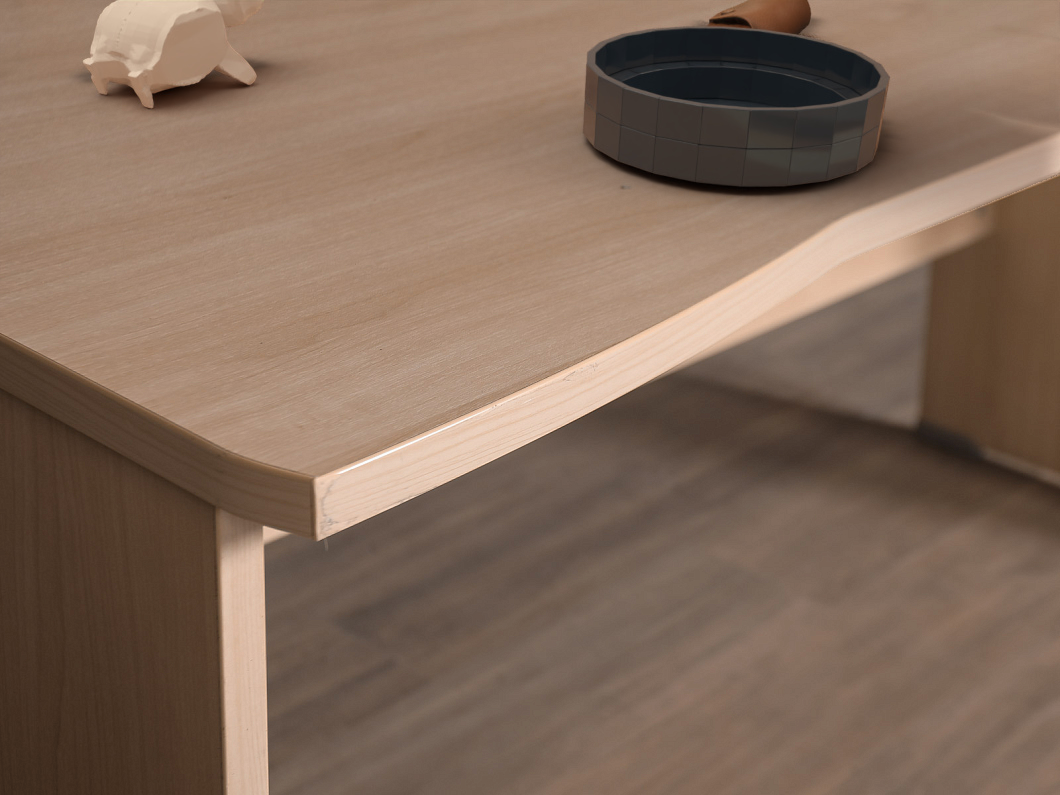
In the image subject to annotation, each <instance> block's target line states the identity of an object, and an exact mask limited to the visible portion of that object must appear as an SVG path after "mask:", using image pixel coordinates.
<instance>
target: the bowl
mask: <svg viewBox="0 0 1060 795" xmlns="http://www.w3.org/2000/svg"><path fill="white" fill-rule="evenodd" d="M585 66H586V67H585V82H584V83H585V86H584V105H583V122H582V134H583V136H584V137H585V138H586V140H588V142H589V143H590V144H591V145H592V147H593V148H594V149H595V150H597V151H599V152H601V153H603V154H604V155H606V156H608V157H609V158H611V159H613V160H615V161H616V162H619V163H622V164H625V165H627V166H631V167H634V168H637V169H639V170H642V171H646V172H648V173H653V174H655V175H659V176H665V177H668V178H671V179H672V178H673V179H676V180H681V181H685V182H691V183H698V184H704V185H712V186H722V187H737V188H738V187H740V188H770V187H789V186H796V185H797V186H798V185H804V184H814V183H821V182H827V181H830V180H834V179H837V178H841V177H845V176H847V175H850V174H853V173H857V172H859V171H860V170H861V169H862V168H864V167H865V166H867V165H868V164H870V163H872V162H873V161H874V159H875V156H876V153H877V150H878V147H879V142H880V136H881V131H882V125H883V119H884V112H885V109H886V101H887V96H888V91H889V85H890V81H891V80H890V79H891V76H890V74H889V73H888V72H887V70H886V69H885V67H884V66H883V64H881V63H880V62H878V61H876V60H875V59H873V58H871V57H870V56H869V55H866V54H864V53H863V52H861V51H858V50H855V49H852V48H849V47H847V46H844V45H841V44H838V43H836V42H832V41H827V40H823V39H819V38H815V37H810V36H806V35H802V34H798V35H796V34H789V33H783V32H776V31H769V30H762V29H749V28H736V27H718V26H707V25H704V26H703V25H699V26H698V25H696V26H694V25H693V26H692V25H689V26H687V25H686V26H684V25H683V26H671V27H658V28H648V29H641V30H637V31H631V32H626V33H625V32H624V33H620V34H618V35H616V36H613V37H609V38H607V39H605V40H601V41H599V42H598V43H596V44H595V45H594V46H593V47H591V48H590V49H589V50H588V51H587V52H586V64H585Z"/></svg>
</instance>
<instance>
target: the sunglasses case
mask: <svg viewBox="0 0 1060 795" xmlns="http://www.w3.org/2000/svg"><path fill="white" fill-rule="evenodd" d="M811 9H812V8H811V5H810V3H809V1H808V0H745V1H743V2H741V3H739V4H737V5H734V6H731V7H728V8H726V9H723V10H721V11H719V12H717V13H716V14H714V15H713V16H711V17H710V18H709V19H708V24H707V25H706V26H718V27H736V28H749V29H762V30H769V31H776V32H783V33H789V34H796V35H800V33H802V32H803V31H804V30H805V29H806V28H808V26H809V25H810V22H811V19H812V10H811Z"/></svg>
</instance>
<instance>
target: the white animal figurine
mask: <svg viewBox="0 0 1060 795" xmlns="http://www.w3.org/2000/svg"><path fill="white" fill-rule="evenodd" d="M264 3H265V0H115V1H114V2H113V1H112V2H111V3H110V4H108V5H107V6H106V7H104V9H102V12H101V13H100V14H99V17H98V18H97V23H96V25H95V28H94V34H93V39H92V42H91V45H90V52H89V54H90V57H87V58H85V59H83V60H82V63H83V64H82V65H84V67H85V68H86V70H88V71H89V73H90V74H91V76H90V79H91V81H92V83H93V84H94V86H95V88H96V90H97V93H99V94H100V95H108V84H109V83H110V82H111V83H114V84H119V85H124V86H125V85H126V86H128V87H130V88H132V89H133V90H134V93H135V94H136V95H137V97H138V98H139V100H140V102H141V104H142V106H143V107H145V108H148V109H153V108H154V103H155V102H154V100H153V94H156V93H159V92H162V91H165V90H166V91H167V90H169V89H174V88H178V87H185V86H190V85H194V84H196V83H199V82H201V80H203V79H205V78H206V76H207V75H210V73H211V72H212V71H213V70H214V71H215V72H218V73H220V74H223V75H225V76H227V77H229V78H231V79H233V80H236V81H238V82H241V83H243V84H245V85H247V86H251V85H252V84H253V83H255V82H256V79H257V76H258V75H257V73H256V71H255V69H254V68H253V66H252V65H250V64H249V62H248V61H247V60H246V59H245V58H244V57H243V56H242V55H241V54H240V53H239V52H237V51H236V50H235V49H234V48H233V46H232V45H231V44H230V43H229V41H228V38H227V37H228V36H227V30H226V29H227V28H233V27H235V26H236V27H237V26H240V25H243V24H245V23H246V21H247V20H248V19H249V17H251V16H254V15H255V14H257V13H258V12H259V11H260V10H261V8H262V7H263V5H264Z"/></svg>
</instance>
